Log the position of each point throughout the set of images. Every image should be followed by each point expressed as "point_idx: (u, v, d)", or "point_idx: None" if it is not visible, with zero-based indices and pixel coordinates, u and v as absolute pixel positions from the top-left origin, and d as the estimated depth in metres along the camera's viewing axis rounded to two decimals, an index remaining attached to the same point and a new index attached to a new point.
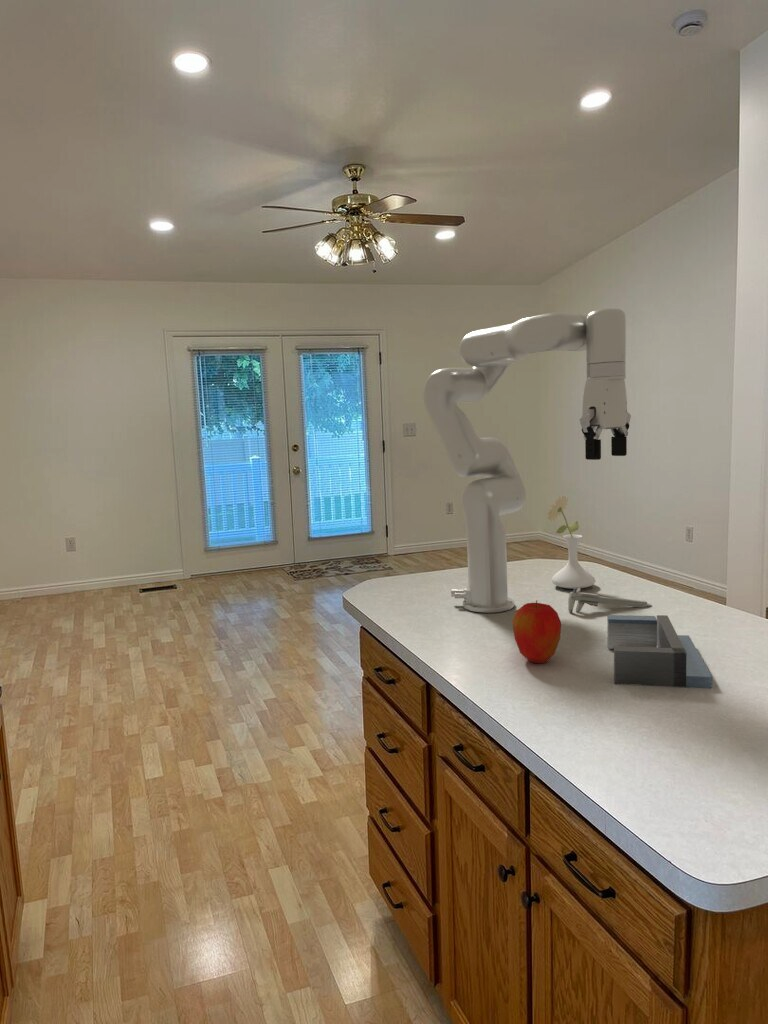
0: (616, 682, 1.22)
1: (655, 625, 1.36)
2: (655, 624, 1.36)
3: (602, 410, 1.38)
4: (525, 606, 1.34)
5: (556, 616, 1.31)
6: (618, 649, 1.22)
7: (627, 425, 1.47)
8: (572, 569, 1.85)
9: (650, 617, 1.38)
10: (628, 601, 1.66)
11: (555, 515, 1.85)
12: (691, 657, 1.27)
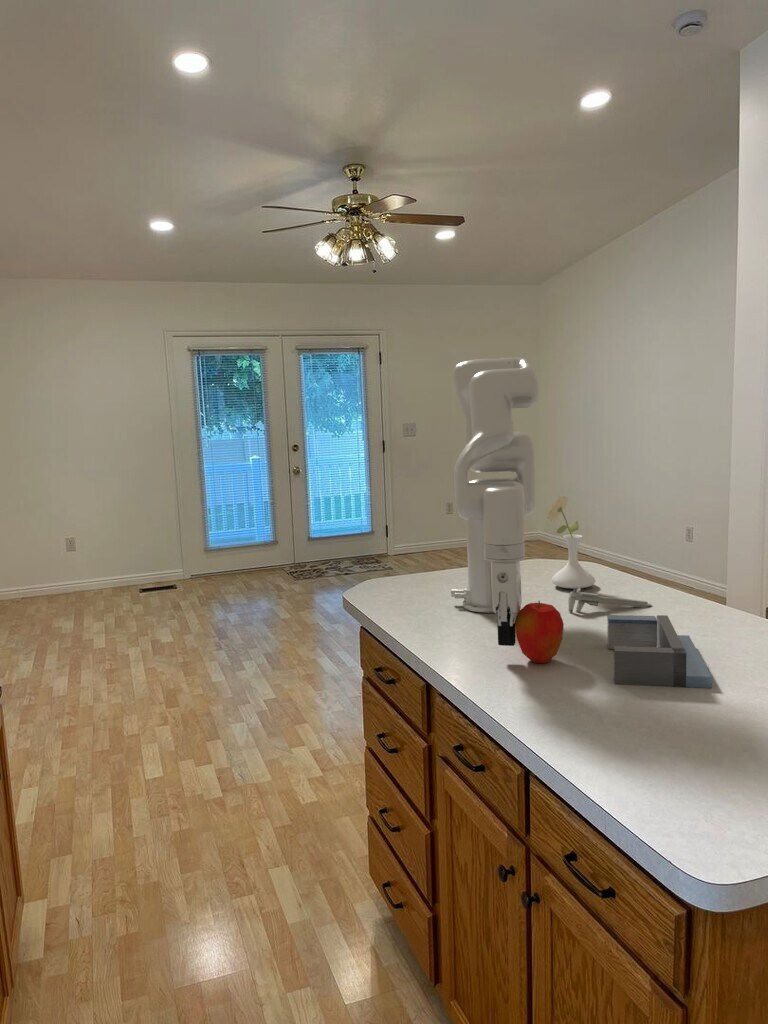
0: (616, 682, 1.22)
1: (655, 625, 1.36)
2: (655, 624, 1.36)
3: None
4: (527, 606, 1.34)
5: (558, 616, 1.31)
6: (618, 649, 1.22)
7: None
8: (572, 569, 1.85)
9: (650, 617, 1.38)
10: (628, 601, 1.66)
11: (555, 515, 1.85)
12: (691, 657, 1.27)
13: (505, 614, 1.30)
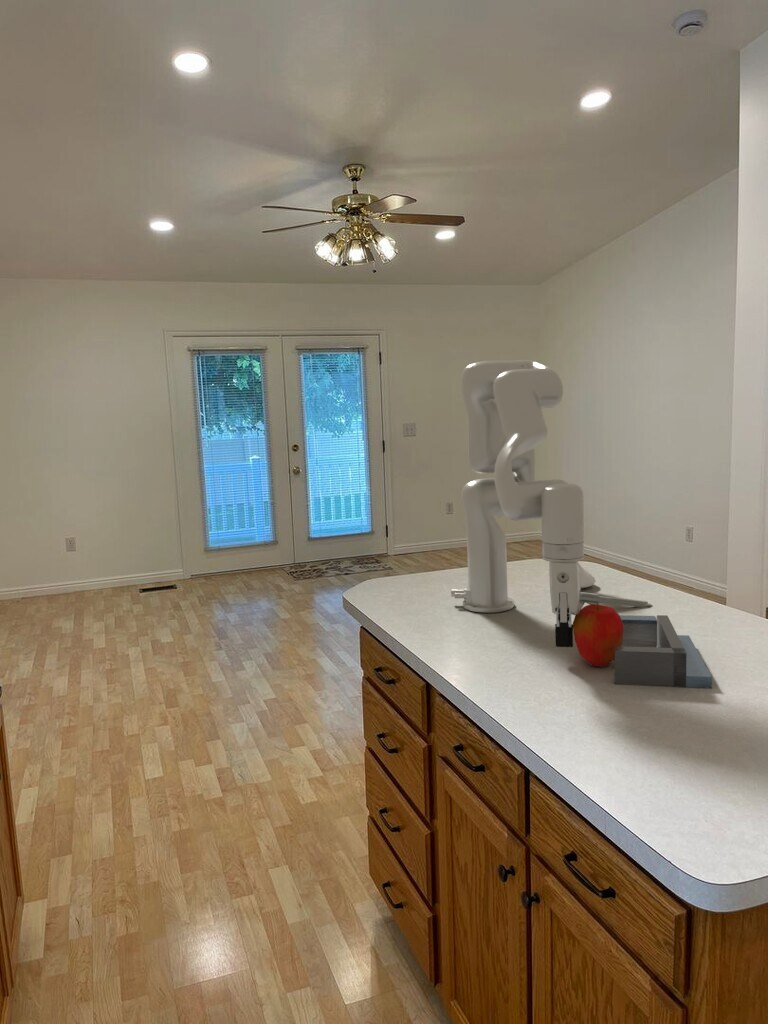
0: (616, 682, 1.22)
1: (655, 625, 1.36)
2: (655, 624, 1.36)
3: None
4: (586, 608, 1.31)
5: (618, 619, 1.28)
6: (618, 649, 1.22)
7: None
8: None
9: (650, 617, 1.38)
10: (628, 601, 1.66)
11: None
12: (691, 657, 1.27)
13: (565, 615, 1.27)
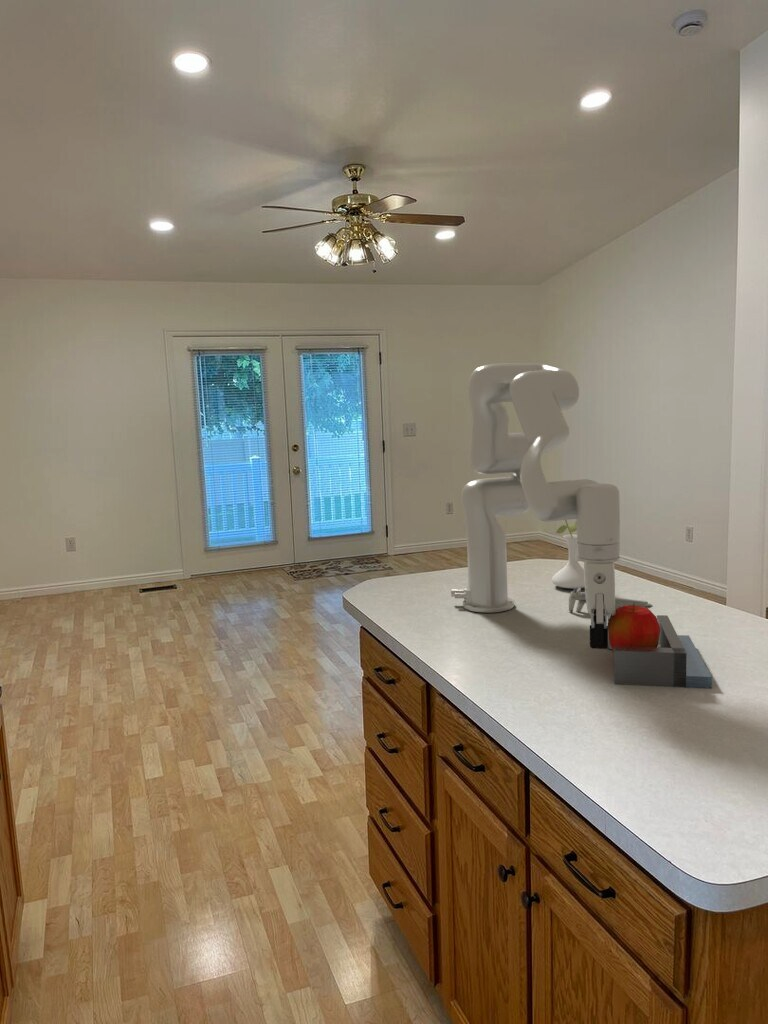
0: (616, 682, 1.22)
1: None
2: None
3: None
4: (621, 608, 1.29)
5: (655, 620, 1.26)
6: (618, 649, 1.22)
7: None
8: (572, 569, 1.85)
9: None
10: (629, 601, 1.66)
11: None
12: (691, 657, 1.27)
13: (602, 616, 1.25)
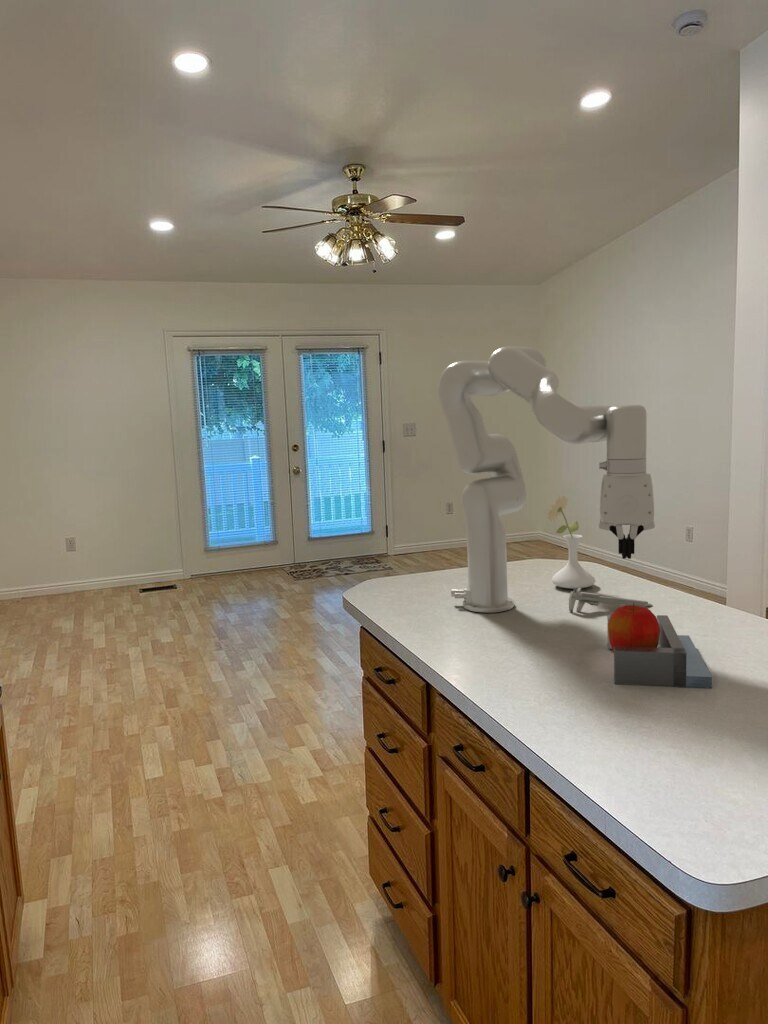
0: (616, 682, 1.22)
1: None
2: None
3: None
4: (621, 608, 1.29)
5: (655, 620, 1.26)
6: (618, 649, 1.22)
7: None
8: (572, 569, 1.85)
9: None
10: (629, 601, 1.66)
11: (555, 515, 1.85)
12: (691, 657, 1.27)
13: None
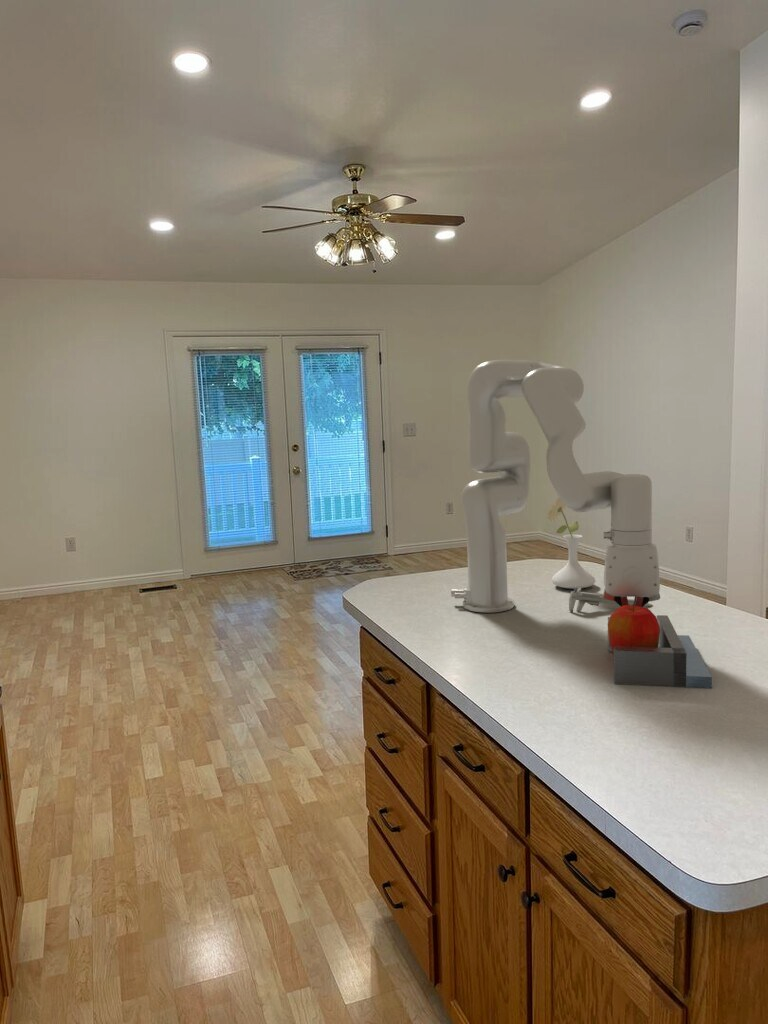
0: (616, 682, 1.22)
1: None
2: None
3: None
4: (621, 608, 1.29)
5: (655, 620, 1.26)
6: (618, 649, 1.22)
7: None
8: (572, 569, 1.85)
9: None
10: (629, 601, 1.66)
11: (555, 515, 1.85)
12: (691, 657, 1.27)
13: (604, 591, 1.40)
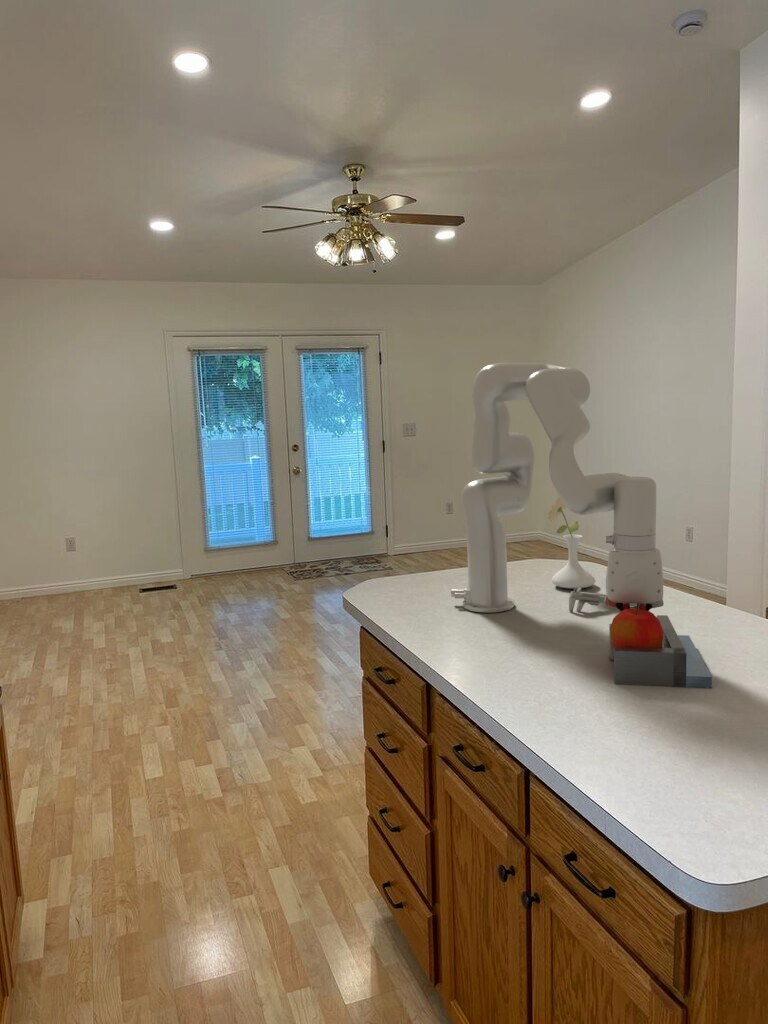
0: (616, 682, 1.22)
1: None
2: None
3: None
4: (624, 612, 1.27)
5: (659, 623, 1.24)
6: (618, 649, 1.22)
7: None
8: (572, 569, 1.85)
9: None
10: None
11: (555, 515, 1.85)
12: (691, 657, 1.27)
13: (605, 597, 1.36)
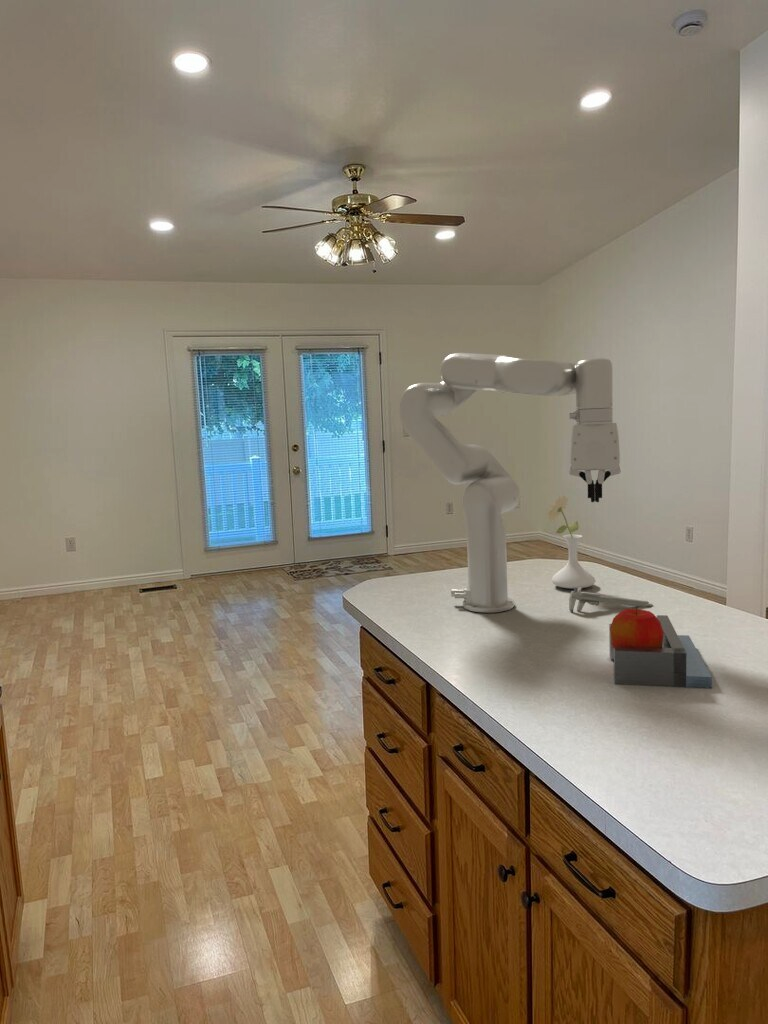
0: (616, 682, 1.22)
1: None
2: None
3: None
4: (624, 612, 1.27)
5: (659, 623, 1.24)
6: (618, 649, 1.22)
7: None
8: (572, 569, 1.85)
9: None
10: (629, 601, 1.66)
11: (555, 515, 1.85)
12: (691, 657, 1.27)
13: (570, 468, 1.54)
